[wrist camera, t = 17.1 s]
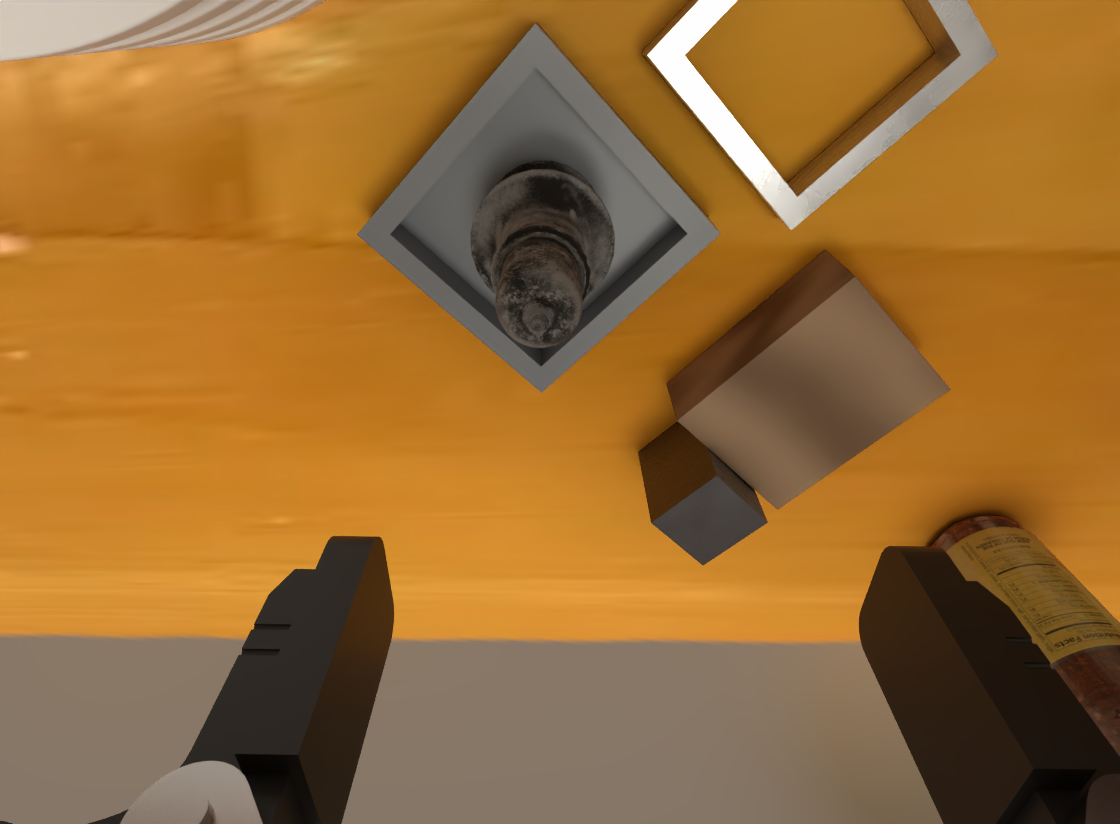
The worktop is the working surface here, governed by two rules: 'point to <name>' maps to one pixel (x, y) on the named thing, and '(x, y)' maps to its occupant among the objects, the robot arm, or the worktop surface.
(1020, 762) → the robot arm
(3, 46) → the plate stack
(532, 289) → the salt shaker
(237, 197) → the worktop surface
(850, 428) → the brown rectangular block
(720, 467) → the block
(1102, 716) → the sauce bottle
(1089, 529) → the worktop surface
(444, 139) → the tray
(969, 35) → the holder
